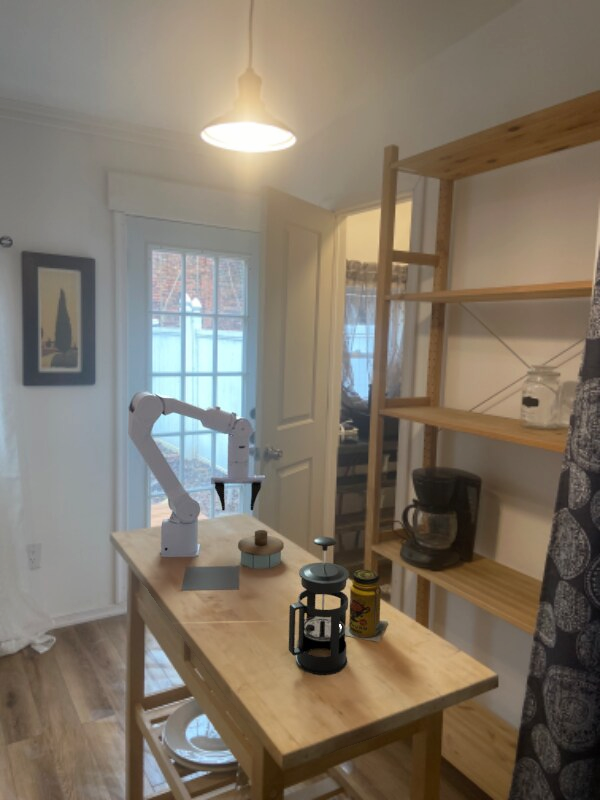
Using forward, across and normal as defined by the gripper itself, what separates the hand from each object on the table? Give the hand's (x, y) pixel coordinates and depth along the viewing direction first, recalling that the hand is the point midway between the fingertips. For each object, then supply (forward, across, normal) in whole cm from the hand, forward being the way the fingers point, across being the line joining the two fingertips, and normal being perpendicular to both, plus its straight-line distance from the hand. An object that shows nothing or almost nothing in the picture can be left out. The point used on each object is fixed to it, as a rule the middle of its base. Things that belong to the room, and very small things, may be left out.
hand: (237, 509), depth 163 cm
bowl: (+10, +6, -12) cm, 17 cm away
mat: (+10, -6, -22) cm, 25 cm away
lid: (+6, +6, -12) cm, 15 cm away
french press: (+10, +15, -58) cm, 61 cm away
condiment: (+10, +26, -47) cm, 55 cm away
